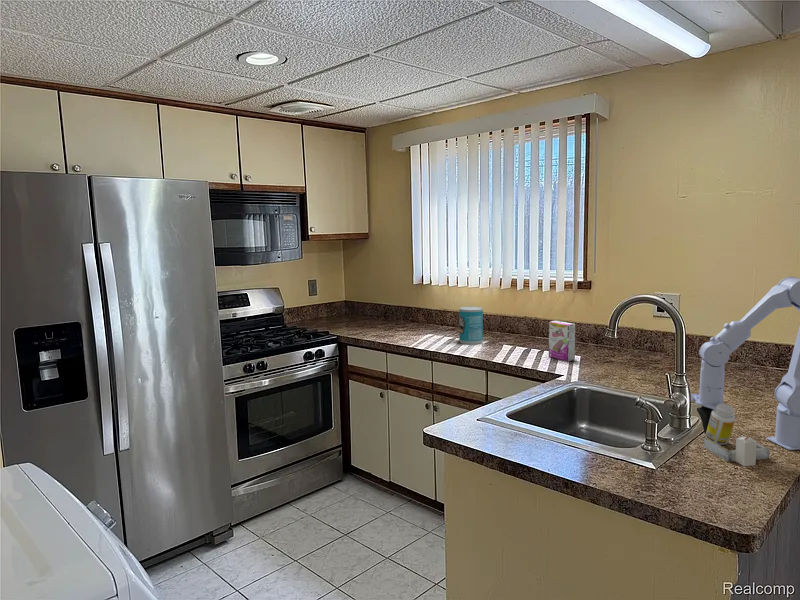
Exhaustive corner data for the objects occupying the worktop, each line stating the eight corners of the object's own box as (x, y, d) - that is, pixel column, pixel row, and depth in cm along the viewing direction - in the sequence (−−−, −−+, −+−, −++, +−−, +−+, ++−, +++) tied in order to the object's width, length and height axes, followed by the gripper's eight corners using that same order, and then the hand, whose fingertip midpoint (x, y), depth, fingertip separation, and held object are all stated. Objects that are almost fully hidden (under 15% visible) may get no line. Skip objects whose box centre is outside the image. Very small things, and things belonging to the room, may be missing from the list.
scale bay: (743, 444, 145) (743, 436, 145) (768, 458, 137) (769, 449, 136) (704, 447, 144) (704, 438, 144) (727, 461, 136) (728, 452, 135)
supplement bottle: (730, 438, 148) (740, 407, 144) (725, 448, 144) (734, 416, 140) (708, 429, 151) (716, 399, 147) (702, 439, 147) (710, 408, 143)
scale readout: (746, 460, 136) (747, 435, 135) (755, 465, 133) (756, 439, 132) (735, 461, 136) (736, 436, 135) (743, 466, 133) (745, 440, 132)
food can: (455, 343, 281) (455, 309, 279) (464, 339, 291) (464, 305, 289) (478, 345, 275) (477, 310, 273) (486, 341, 286) (486, 306, 283)
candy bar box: (547, 357, 247) (548, 321, 245) (555, 355, 250) (555, 320, 248) (567, 362, 238) (568, 324, 236) (575, 360, 241) (576, 323, 238)
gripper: (681, 379, 156) (679, 425, 157) (715, 394, 141) (712, 445, 143) (705, 378, 156) (702, 424, 158) (741, 393, 142) (737, 443, 144)
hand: (708, 433), depth 151 cm, fingers closed
